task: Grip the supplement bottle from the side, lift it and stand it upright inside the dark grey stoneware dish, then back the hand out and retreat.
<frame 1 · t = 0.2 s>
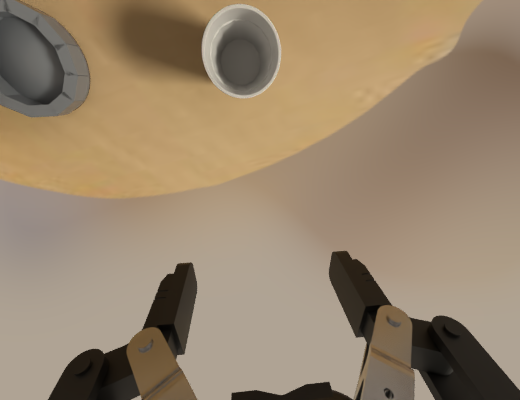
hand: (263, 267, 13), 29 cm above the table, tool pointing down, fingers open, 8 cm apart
cup: (240, 64, 33), on the table
dish: (38, 64, 31), on the table
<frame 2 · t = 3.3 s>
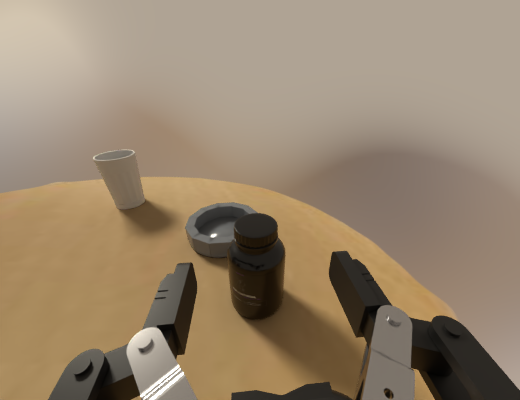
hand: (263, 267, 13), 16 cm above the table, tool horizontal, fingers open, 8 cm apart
supplement bottle: (257, 298, 30), on the table
cup: (131, 203, 54), on the table
dish: (224, 233, 43), on the table
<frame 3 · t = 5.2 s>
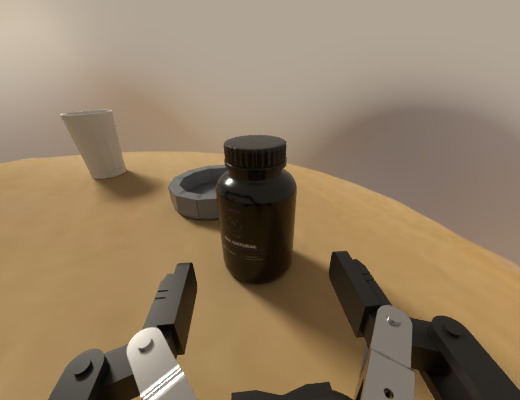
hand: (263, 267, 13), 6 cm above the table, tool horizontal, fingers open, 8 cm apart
supplement bottle: (258, 261, 23), on the table
cup: (109, 174, 47), on the table
dish: (217, 197, 35), on the table
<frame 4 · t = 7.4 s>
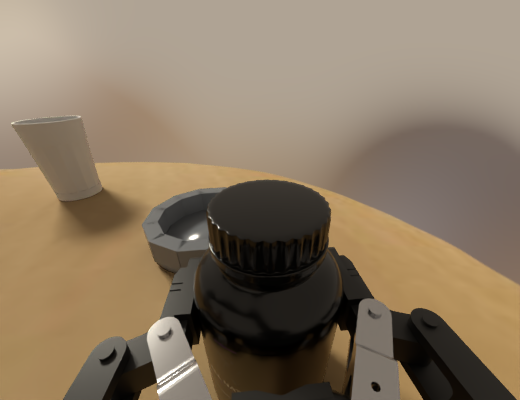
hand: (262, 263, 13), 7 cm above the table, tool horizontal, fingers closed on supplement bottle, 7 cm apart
supplement bottle: (268, 367, 14), on the table, touching gripper
cup: (81, 193, 39), on the table
dish: (209, 234, 27), on the table
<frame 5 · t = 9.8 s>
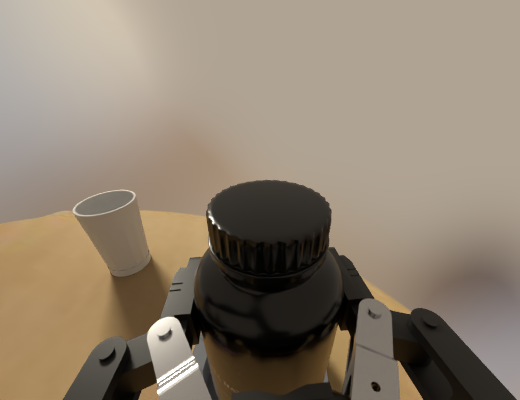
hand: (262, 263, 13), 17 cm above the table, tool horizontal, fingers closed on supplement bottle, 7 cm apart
supplement bottle: (268, 367, 14), point 11 cm above the table, touching gripper
cup: (131, 263, 39), on the table
dish: (258, 377, 23), on the table
when the fingers open (8 cm above the table, at t = 12.4 s): supplement bottle drops 1 cm, resting on dish.
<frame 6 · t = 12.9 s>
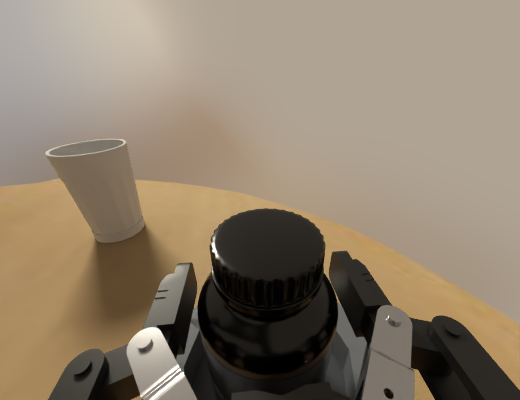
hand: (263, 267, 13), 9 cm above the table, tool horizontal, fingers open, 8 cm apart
supplement bottle: (268, 381, 15), resting on dish
cup: (121, 230, 32), on the table
dish: (268, 382, 15), on the table
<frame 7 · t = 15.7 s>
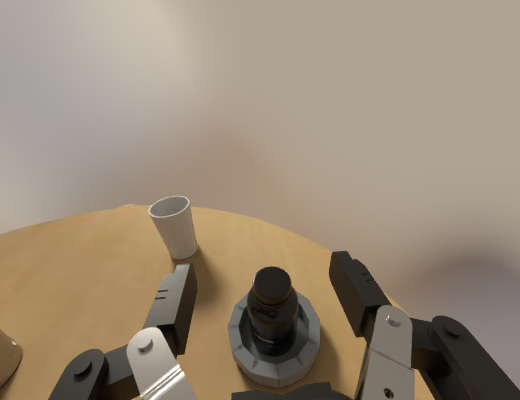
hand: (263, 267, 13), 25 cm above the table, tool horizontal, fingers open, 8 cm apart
supplement bottle: (274, 334, 34), resting on dish
cup: (184, 249, 52), on the table
dish: (274, 334, 34), on the table
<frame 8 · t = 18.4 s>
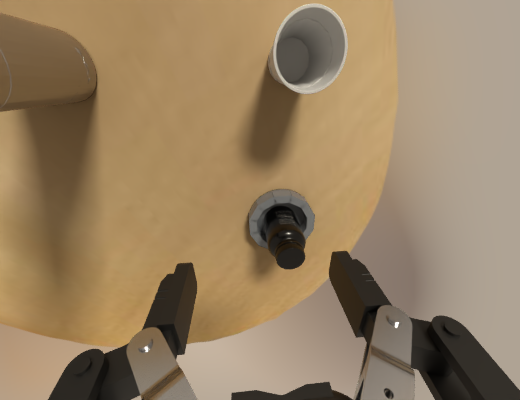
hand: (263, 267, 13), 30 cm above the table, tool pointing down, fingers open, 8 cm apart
supplement bottle: (279, 218, 47), resting on dish
cup: (288, 61, 34), on the table
dish: (279, 216, 47), on the table
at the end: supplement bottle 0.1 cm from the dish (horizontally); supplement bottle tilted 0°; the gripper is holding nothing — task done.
